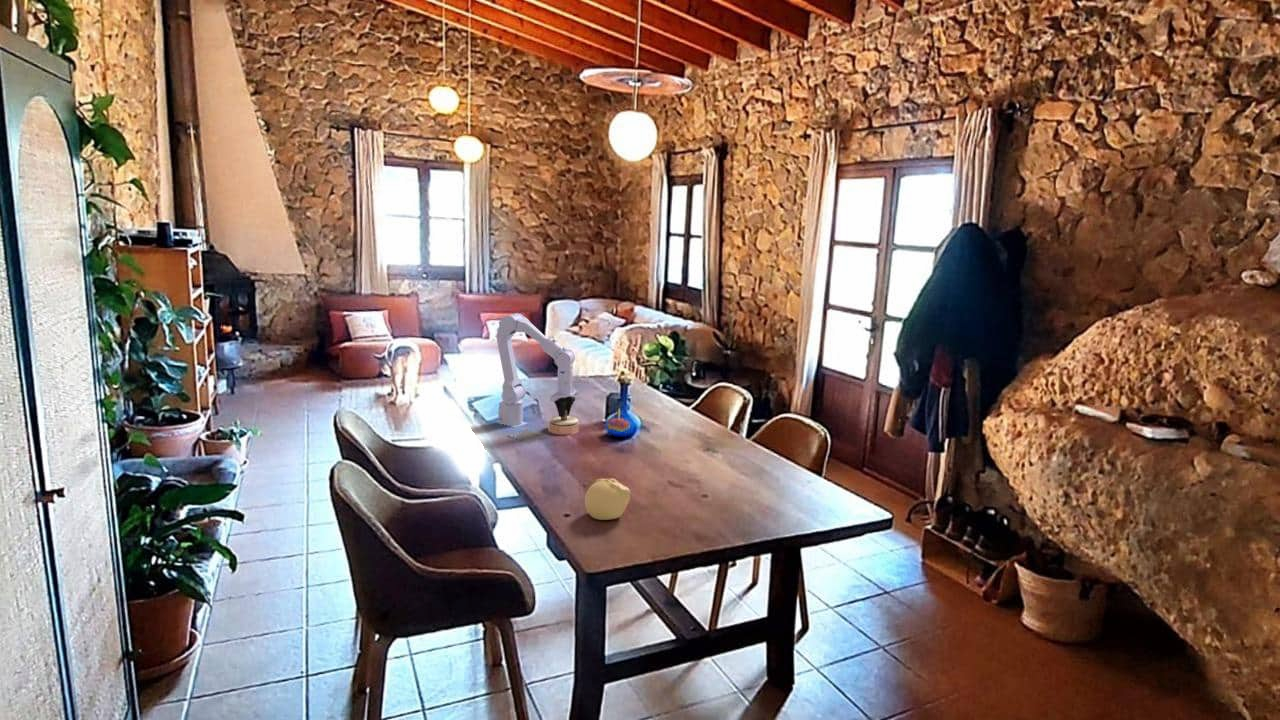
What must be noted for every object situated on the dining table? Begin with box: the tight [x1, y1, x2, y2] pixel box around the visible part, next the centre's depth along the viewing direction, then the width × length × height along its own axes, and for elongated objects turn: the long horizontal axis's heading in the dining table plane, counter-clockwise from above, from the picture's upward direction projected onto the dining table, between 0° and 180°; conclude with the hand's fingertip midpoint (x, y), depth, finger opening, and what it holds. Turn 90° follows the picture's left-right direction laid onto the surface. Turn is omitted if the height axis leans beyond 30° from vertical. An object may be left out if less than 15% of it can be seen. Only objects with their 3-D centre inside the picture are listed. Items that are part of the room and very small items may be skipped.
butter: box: [584, 477, 631, 521], centre depth 205 cm, size 11×12×11 cm
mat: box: [505, 428, 551, 444], centre depth 275 cm, size 12×12×1 cm
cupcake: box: [607, 407, 631, 432], centre depth 280 cm, size 9×8×12 cm
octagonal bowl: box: [547, 419, 580, 435], centre depth 284 cm, size 12×12×4 cm
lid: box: [549, 409, 579, 425], centre depth 283 cm, size 11×11×5 cm
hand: (563, 415), depth 283 cm, fingers closed on lid, 2 cm apart
